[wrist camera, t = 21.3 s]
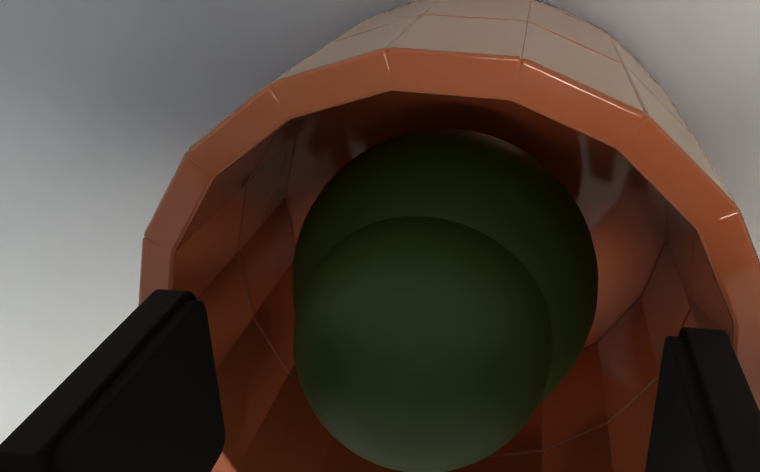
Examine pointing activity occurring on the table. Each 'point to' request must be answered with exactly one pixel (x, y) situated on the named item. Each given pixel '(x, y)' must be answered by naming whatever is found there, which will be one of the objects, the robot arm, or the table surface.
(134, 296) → the table surface
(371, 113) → the pot
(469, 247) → the avocado
